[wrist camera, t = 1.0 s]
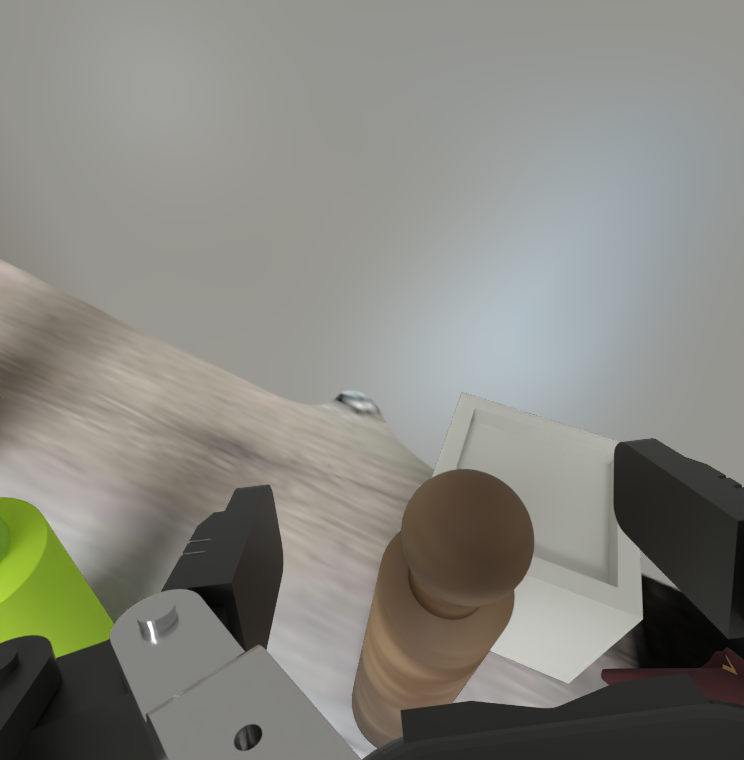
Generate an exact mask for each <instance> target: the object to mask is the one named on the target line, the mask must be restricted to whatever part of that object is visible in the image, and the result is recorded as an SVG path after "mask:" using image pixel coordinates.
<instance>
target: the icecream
mask: <svg viewBox="0 0 744 760" xmlns="http://www.w3.org/2000/svg"><path fill="white" fill-rule="evenodd" d="M685 673H687V674H688V675H689V676H690V678H691V679H692V680H693V681H694V683H695V684H696V685H697V686H698V688H699V689H700V690H701V691H702V693H703V694H704V695H705V696H706V698H707V699H716V700H721V701H726V702H731V703H736V704H740V705H743V706H744V660H743V659H742V658H741V657H740V656H739V655H737V654H736V653H735V652H734V651H732V650H731V649H730V648H728V647H727V648H725V649H724V650H723V652H722V651H717V652H715V653H714V654H713V656H712V657H711V659H710V661H709V662H707V663H706V664H705V665H704V666H702V667H701V668H653V669H604V670H602V673H601V677H602V679H603V680H604V681H605V682H606V683H607V684H609V685H611V684H614V683H616V682H623V681H630V680H638V679H646V678H654V677H661V676H669V675H677V674H685Z"/></svg>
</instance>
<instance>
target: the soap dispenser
mask: <svg viewBox="0 0 744 760" xmlns="http://www.w3.org/2000/svg"><path fill="white" fill-rule="evenodd" d="M0 397H1V393H0ZM113 626H114V622H113V621H112V619H111V618H110V616H109V615H108V613H107V612H106V610H105V609H104V607H103V606H102V604H101V603H100V601H99V600H98V598H97V597H96V595H95V594H94V592H93V591H92V589H91V588H90V586H89V585H88V583H87V581H86V580H85V578H84V577H83V575H82V574H81V572H80V571H79V569H78V568H77V566H76V565H75V563H74V562H73V560H72V559H71V557H70V556H69V554H68V553H67V551H66V550H65V548H64V547H63V545H62V544H61V542H60V540H59V539H58V537H57V536H56V534H55V533H54V531H53V530H52V528H51V527H50V525H49V524H48V522H47V521H46V519H45V518H44V516H43V515H42V513H41V512H40V511H39V510H38V509H37V508H36V507H35V506H33V505H32V504H30V503H28V502H25V501H23V500H19V499H15V498H7V497H0V643H2V642H4V641H7V640H10V639H13V638H17V637H22V636H29V635H39V636H43V637H45V638H47V639H48V640H49V641H50V642H51V645H52V648H53V651H54V654H55V657H56V658H57V657H60V656H63V655H66V654H69V653H72V652H75V651H78V650H81V649H84V648H87V647H90V646H92V645H95V644H98V643H101V642H103V641H106V640H108V639H110V633H111V630H112V627H113Z"/></svg>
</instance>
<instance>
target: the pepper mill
mask: <svg viewBox="0 0 744 760" xmlns="http://www.w3.org/2000/svg"><path fill="white" fill-rule="evenodd" d="M533 552H534V530H533V525H532V521H531V518H530V516H529V513H528V511H527V509H526V507H525V505H524V503H523V502H522V500H521V499H520V497H519V496H518V495H517V494H516V493H515V491H514V490H513V489H512V488H510V487H509V486H508V485H507V484H506V483H504V482H503V481H501V480H500V479H498V478H496V477H494V476H493V475H490V474H488V473H485V472H482V471H478V470H472V469H457V470H450V471H446V472H443V473H441V474H438V475H436V476H434V477H433V478H431V479H429V480H428V481H427V482H425V483H424V484H423V485H422V486H421V487H420V488H419V489H418V490H417V491H416V492H415V494H414V495H413V496H412V498H411V499H410V501H409V503H408V505H407V507H406V510H405V513H404V516H403V520H402V528H401V531H400V532H399V533H398V534H397V535H396V536H395V537H394V538H393V539H392V540H391V542H390V543H389V545H388V546H387V548H386V550H385V552H384V554H383V558H382V561H381V565H380V569H379V574H378V579H377V583H376V588H375V592H374V597H373V601H372V606H371V610H370V615H369V619H368V624H367V628H366V633H365V637H364V642H363V647H362V651H361V656H360V660H359V665H358V669H357V674H356V678H355V683H354V687H353V693H352V708H353V714H354V718H355V721H356V723H357V726H358V728H359V729H360V731H361V733H362V734H363V735H364V737H365V738H366V739H367V740H368V741H369V742H370V743H371V744H372V745H374V746H375V747H377V748H380V747H381V746H383V745H385V744H387V743H388V742H390V741H393V740H395V739H397V738H400V737H402V736H403V730H402V721H401V712H400V710H405V709H413V708H421V707H428V706H436V705H444V704H452V703H453V702H454V700H455V699H456V697H457V696H458V695H459V693H460V692H461V690H462V689H463V688H464V686H465V685H466V683H467V682H468V680H469V679H470V678H471V676H472V675H473V673H474V672H475V671H476V669H477V668H478V666H479V665H480V664H481V662H482V661H483V659H484V658H485V657H486V655H487V654H488V652H489V651H490V650H491V648H492V647H493V645H494V644H495V643H496V641H497V640H498V638H499V637H500V635H501V634H502V633H503V631H504V630H505V628H506V626H507V625H508V623H509V621H510V618H511V616H512V613H513V608H514V600H515V593H514V589H515V588H516V587H517V586H518V585H519V584H520V583H521V581H522V580H523V579H524V577H525V575H526V574H527V571H528V569H529V567H530V564H531V562H532V557H533Z"/></svg>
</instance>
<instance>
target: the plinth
mask: <svg viewBox="0 0 744 760" xmlns="http://www.w3.org/2000/svg"><path fill="white" fill-rule="evenodd" d="M618 443H619V442H618V441H615V440H612V439H609V438H605V437H602V436H599V435H596V434H593V433H590V432H586V431H584V430H580V429H577V428H574V427H571V426H568V425H565V424H561V423H558V422H555V421H552V420H549V419H545V418H543V417H539V416H536V415H533V414H530V413H527V412H523V411H521V410H517V409H514V408H511V407H508V406H505V405H501V404H499V403H495V402H492V401H489V400H486V399H483V398H480V397H476V396H473V395H470V394H467V393H464V392H462V393H461V395H460V398H459V401H458V404H457V407H456V410H455V412H454V416H453V418H452V421H451V424H450V427H449V430H448V432H447V435H446V438H445V441H444V444H443V447H442V450H441V452H440V456H439V459H438V461H437V464H436V467H435V470H434V472H433V475H432V478H433V477H434V476H436V475H438V474H441V473H443V472H446V471H450V470H457V469H472V470H478V471H482V472H485V473H488V474H490V475H493V476H494V477H496V478H498V479H500V480H501V481H503V482H504V483H506V484H507V485H508V486H509V487H510V488H512V489H513V490H514V491H515V493H516V494H517V495H518V496H519V497H520V499H521V500H522V502H523V503H524V505H525V507H526V509H527V511H528V513H529V516H530V518H531V521H532V525H533V530H534V552H533V557H532V562H531V564H530V567H529V569H528V571H527V574H526V575H525V577H524V579H523V580H522V581H521V583H520V584H519V585H518V586H517V587H516V588H515V589H514V593H515V600H514V608H513V613H512V616H511V618H510V621H509V623H508V625H507V626H506V628H505V630H504V631H503V633H502V634H501V635H500V637H499V638H498V640H497V641H496V643H495V644H494V645H493V647H492V648H491V650H490V651H491V652H494V653H496V654H499V655H501V656H503V657H506V658H508V659H511V660H513V661H515V662H518V663H520V664H522V665H525V666H527V667H530V668H532V669H534V670H537V671H539V672H541V673H544V674H546V675H549V676H551V677H553V678H556V679H558V680H561V681H563V682H565V683H568V684H569V683H570V682H571V681H572V680H573V679H574V678H576V677H577V676H578V675H579V674H580V673H581V672H582V671H584V670H585V669H586V668H587V667H588V666H589V665H591V664H592V663H593V662H594V661H595V660H596V659H598V658H599V657H600V656H601V655H602V654H603V653H604V652H606V651H607V650H608V649H609V648H610V647H611V646H613V645H614V644H615V643H616V642H617V641H618V640H620V639H621V638H622V637H623V636H624V635H625V634H626V633H628V632H629V631H630V630H631V629H632V628H633V627H635V626H636V625H637V624H638V623H639V622H640V621H642V620H643V607H642V583H641V559H640V549H639V548H638V547H637V546H636V545H635V544H634V543H633V542H632V541H631V540H630V539H629V537H628V536H627V535H626V534H625V533H624V532H623V531H622V530H621V528H620V526H619V525H618V522H617V520H616V517H615V513H614V507H613V487H614V450H615V447H616V445H617V444H618Z"/></svg>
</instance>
